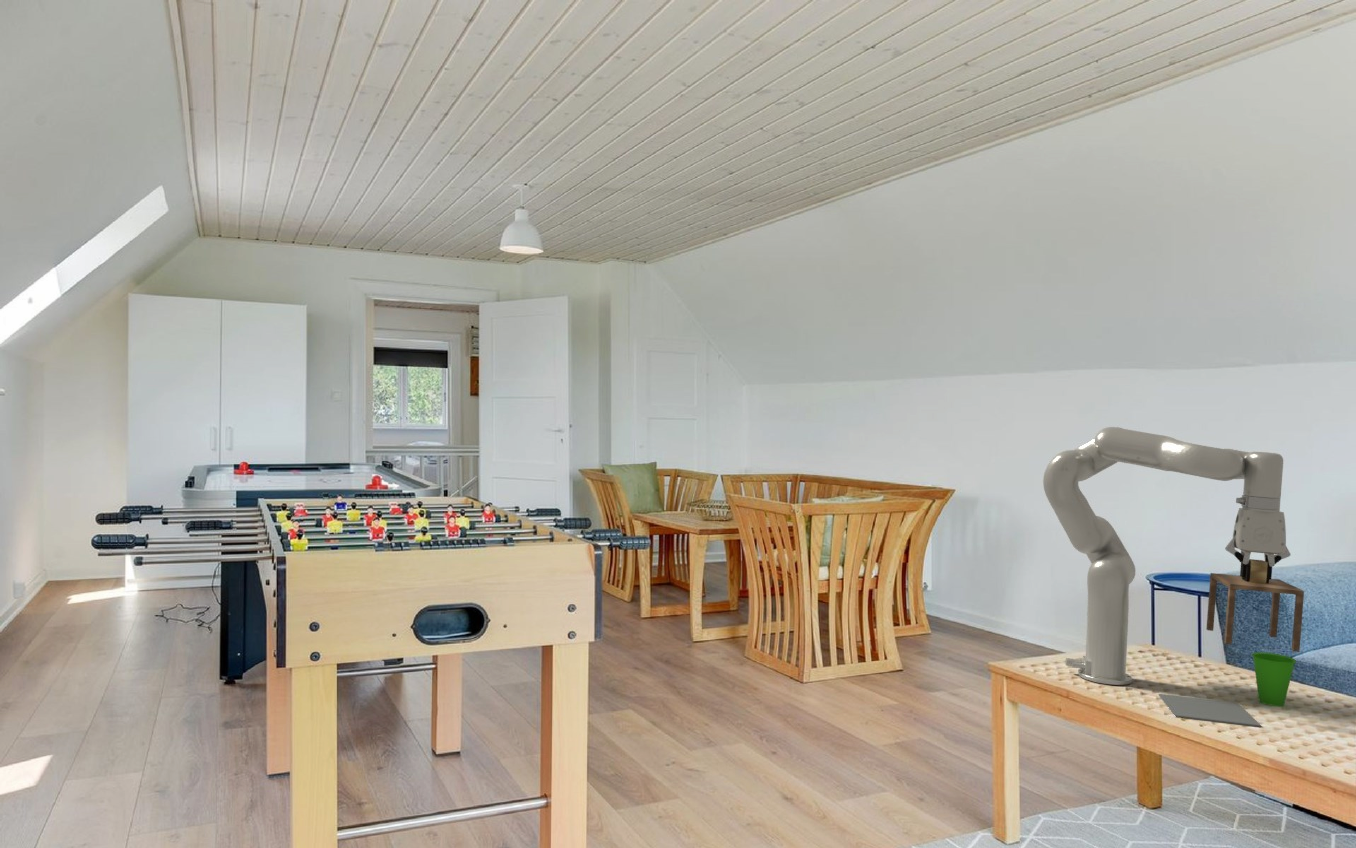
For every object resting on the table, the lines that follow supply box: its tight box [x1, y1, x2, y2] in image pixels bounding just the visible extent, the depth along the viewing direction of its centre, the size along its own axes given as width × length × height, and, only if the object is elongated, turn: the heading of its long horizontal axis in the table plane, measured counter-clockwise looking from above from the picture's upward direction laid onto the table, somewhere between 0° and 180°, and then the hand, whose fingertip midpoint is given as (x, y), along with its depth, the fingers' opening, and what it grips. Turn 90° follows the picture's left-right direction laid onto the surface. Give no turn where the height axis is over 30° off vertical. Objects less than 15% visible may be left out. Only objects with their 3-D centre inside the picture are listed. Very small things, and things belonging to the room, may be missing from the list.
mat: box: [1158, 693, 1262, 728], centre depth 214 cm, size 17×17×1 cm
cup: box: [1251, 651, 1297, 707], centre depth 222 cm, size 9×9×11 cm
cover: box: [1206, 558, 1305, 653], centre depth 219 cm, size 15×15×19 cm
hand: (1255, 580), depth 219 cm, fingers closed on cover, 3 cm apart
